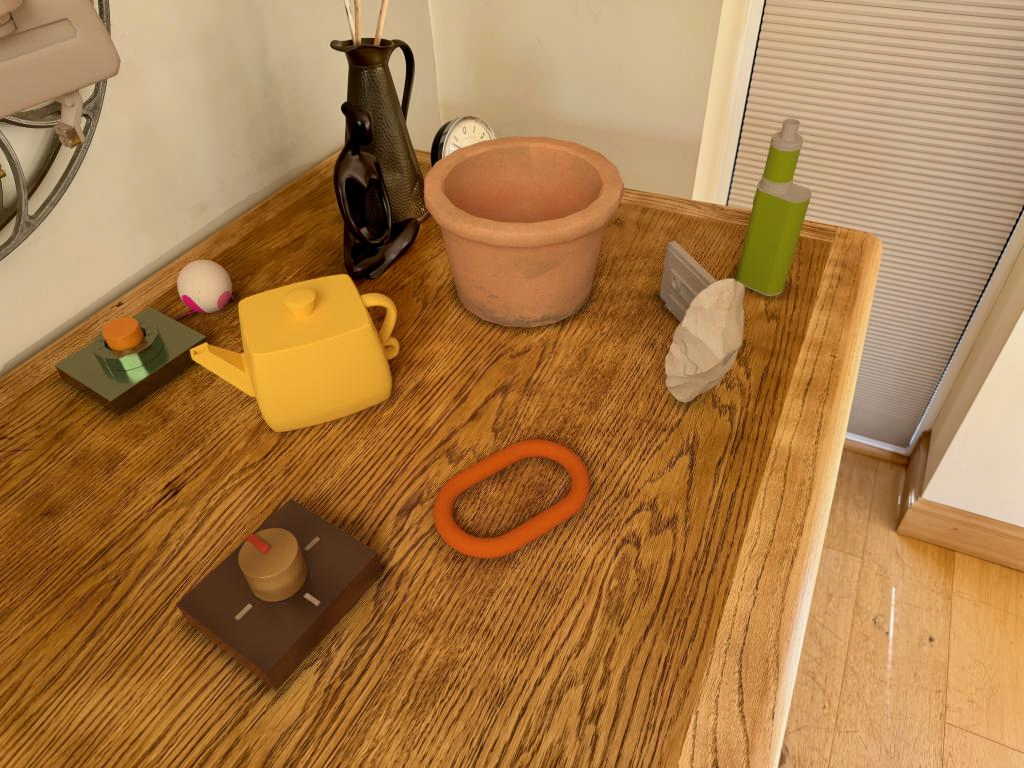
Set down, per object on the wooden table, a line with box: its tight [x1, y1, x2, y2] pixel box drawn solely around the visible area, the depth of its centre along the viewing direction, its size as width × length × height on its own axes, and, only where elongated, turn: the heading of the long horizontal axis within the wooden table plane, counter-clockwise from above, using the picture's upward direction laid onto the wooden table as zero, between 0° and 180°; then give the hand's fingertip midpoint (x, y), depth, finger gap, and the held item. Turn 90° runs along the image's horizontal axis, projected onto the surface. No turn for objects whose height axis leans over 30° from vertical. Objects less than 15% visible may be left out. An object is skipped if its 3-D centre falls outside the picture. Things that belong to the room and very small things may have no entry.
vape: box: [735, 117, 813, 297], centre depth 82 cm, size 4×6×20 cm, turn 47°
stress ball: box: [176, 259, 236, 319], centre depth 86 cm, size 8×8×7 cm
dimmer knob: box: [238, 528, 307, 602], centre depth 56 cm, size 4×4×4 cm
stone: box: [664, 278, 746, 404], centre depth 69 cm, size 8×5×15 cm
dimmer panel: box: [175, 498, 384, 692], centre depth 58 cm, size 12×10×3 cm
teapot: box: [190, 273, 401, 433], centre depth 73 cm, size 20×12×12 cm, turn 113°
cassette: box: [659, 240, 717, 323], centre depth 81 cm, size 12×2×8 cm, turn 22°
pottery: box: [423, 136, 625, 329], centre depth 84 cm, size 22×22×14 cm
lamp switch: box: [53, 306, 211, 417], centre depth 79 cm, size 12×10×4 cm
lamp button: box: [101, 316, 144, 351], centre depth 77 cm, size 4×4×2 cm
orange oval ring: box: [432, 438, 591, 559], centre depth 65 cm, size 10×2×15 cm
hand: (36, 161), depth 63 cm, fingers open, 6 cm apart
